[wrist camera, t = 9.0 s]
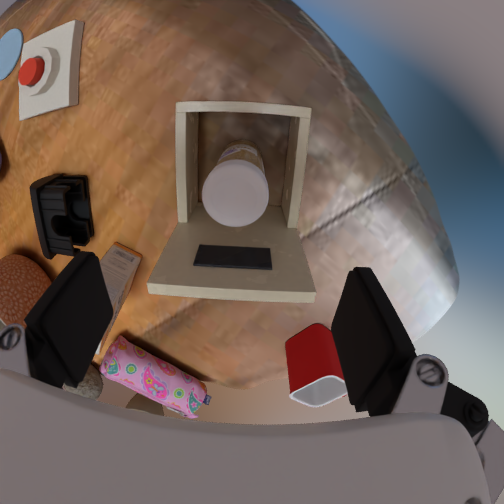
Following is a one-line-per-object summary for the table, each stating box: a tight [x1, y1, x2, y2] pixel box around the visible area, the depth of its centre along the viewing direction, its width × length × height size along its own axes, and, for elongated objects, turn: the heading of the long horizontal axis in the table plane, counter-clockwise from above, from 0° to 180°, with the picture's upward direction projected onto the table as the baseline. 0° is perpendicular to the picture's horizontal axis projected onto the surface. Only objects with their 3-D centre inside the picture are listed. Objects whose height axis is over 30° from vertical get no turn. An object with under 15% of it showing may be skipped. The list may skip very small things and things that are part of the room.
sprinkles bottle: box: [202, 140, 269, 227], centre depth 23 cm, size 5×5×14 cm
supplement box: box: [96, 242, 142, 355], centre depth 31 cm, size 8×5×13 cm, turn 149°
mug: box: [285, 324, 348, 407], centre depth 41 cm, size 12×8×11 cm
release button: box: [19, 58, 45, 86], centre depth 17 cm, size 4×4×2 cm
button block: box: [18, 20, 84, 121], centre depth 19 cm, size 12×10×4 cm
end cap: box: [30, 174, 94, 260], centre depth 29 cm, size 10×7×7 cm
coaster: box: [0, 29, 23, 80], centre depth 17 cm, size 9×9×1 cm
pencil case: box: [100, 336, 211, 418], centre depth 45 cm, size 21×9×9 cm, turn 44°
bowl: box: [126, 393, 164, 416], centre depth 54 cm, size 10×10×7 cm
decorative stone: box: [63, 364, 103, 400], centre depth 47 cm, size 10×8×10 cm
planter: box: [0, 254, 52, 331], centre depth 32 cm, size 17×17×15 cm
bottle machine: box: [147, 101, 316, 303], centre depth 22 cm, size 13×12×16 cm
